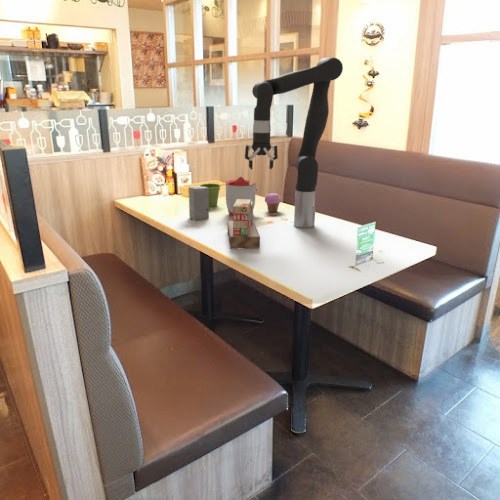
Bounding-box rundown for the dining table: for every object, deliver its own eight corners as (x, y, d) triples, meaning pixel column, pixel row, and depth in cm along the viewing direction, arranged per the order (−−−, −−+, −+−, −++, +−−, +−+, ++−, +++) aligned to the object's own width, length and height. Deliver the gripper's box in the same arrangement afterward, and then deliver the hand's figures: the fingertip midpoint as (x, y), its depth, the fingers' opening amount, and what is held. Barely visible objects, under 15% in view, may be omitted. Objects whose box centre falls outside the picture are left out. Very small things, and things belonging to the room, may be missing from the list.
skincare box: (194, 220, 221) (193, 189, 215) (188, 217, 226) (187, 186, 221) (210, 218, 225) (209, 187, 220) (203, 215, 231) (202, 185, 225)
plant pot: (197, 204, 254) (196, 184, 250) (216, 202, 259) (216, 182, 255) (204, 208, 244) (203, 188, 240) (224, 206, 249) (224, 186, 245)
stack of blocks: (239, 221, 203) (239, 194, 199) (253, 221, 202) (253, 194, 198) (232, 234, 183) (232, 205, 179) (248, 235, 182) (248, 206, 178)
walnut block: (253, 231, 205) (253, 220, 204) (259, 248, 183) (259, 236, 181) (227, 231, 204) (227, 220, 203) (230, 248, 182) (230, 237, 180)
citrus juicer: (264, 215, 232) (265, 177, 225) (236, 220, 222) (236, 180, 216) (246, 209, 244) (247, 172, 237) (219, 213, 234) (219, 175, 228)
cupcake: (280, 213, 236) (281, 195, 233) (264, 213, 236) (264, 194, 233) (280, 209, 245) (280, 191, 241) (264, 209, 245) (264, 191, 241)
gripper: (276, 130, 197) (275, 167, 202) (244, 130, 196) (244, 167, 201) (279, 132, 190) (278, 170, 195) (246, 131, 189) (245, 170, 194)
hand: (260, 169), depth 198 cm, fingers open, 8 cm apart
